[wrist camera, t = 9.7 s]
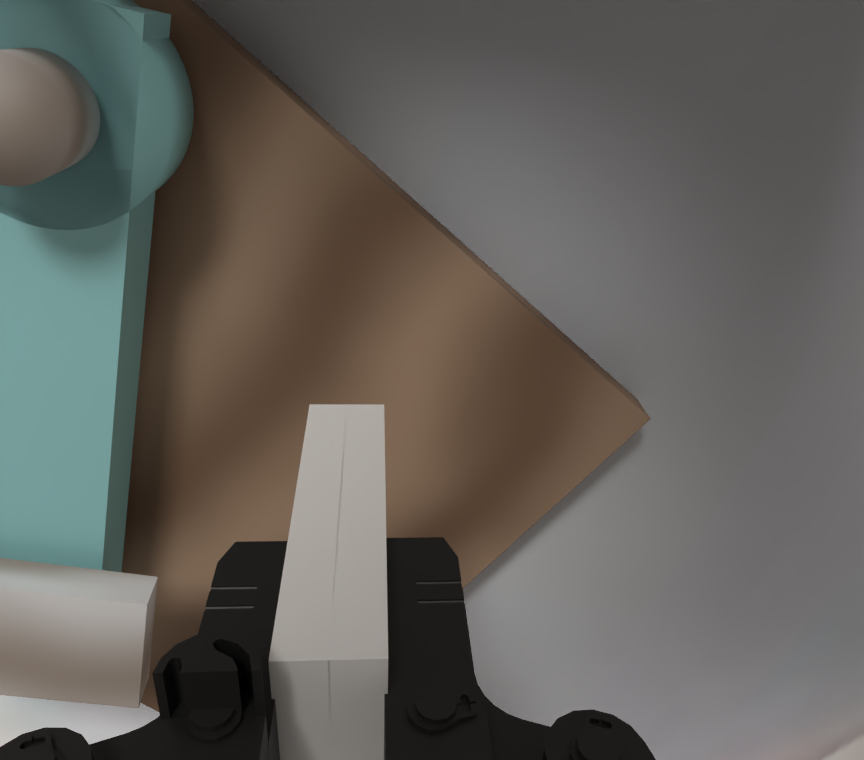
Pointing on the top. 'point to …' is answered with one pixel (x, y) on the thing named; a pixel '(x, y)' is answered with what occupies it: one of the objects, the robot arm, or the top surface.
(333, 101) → the top surface
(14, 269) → the latch bar
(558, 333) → the pivot board
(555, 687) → the top surface
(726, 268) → the top surface
